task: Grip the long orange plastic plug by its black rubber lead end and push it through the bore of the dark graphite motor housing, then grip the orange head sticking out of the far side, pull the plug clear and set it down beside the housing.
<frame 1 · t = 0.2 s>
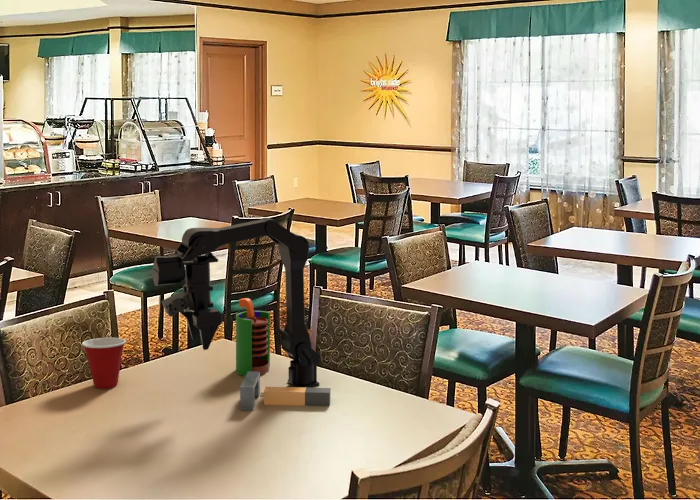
hand: (200, 344, 190), 14 cm above the table, fingers open, 9 cm apart
housing: (250, 401, 192), on the table
plastic cup: (106, 385, 203), on the table
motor: (252, 371, 216), on the table
plug: (297, 402, 192), on the table
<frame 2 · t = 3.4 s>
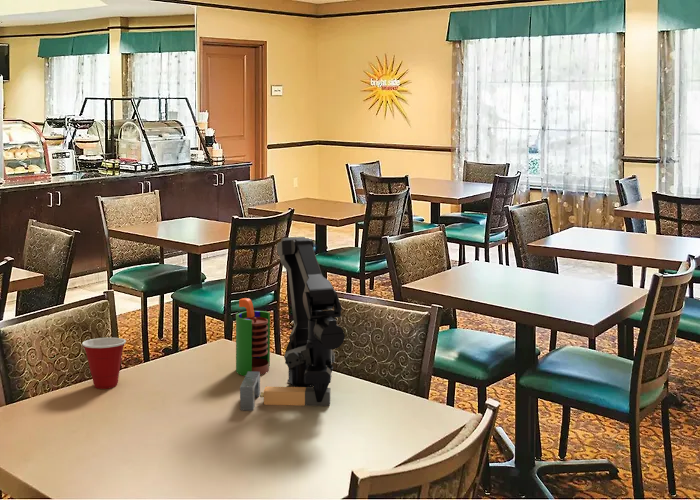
hand: (319, 399, 191), 1 cm above the table, fingers closed on plug, 3 cm apart
plug: (297, 402, 192), on the table, touching gripper
everything else where it was.
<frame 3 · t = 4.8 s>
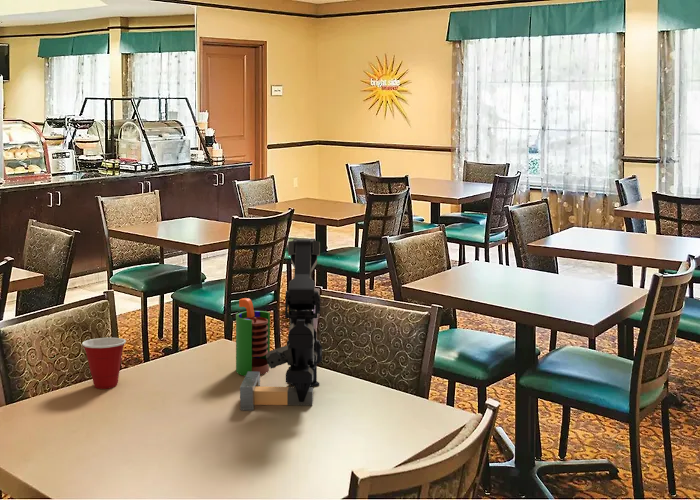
hand: (302, 399, 192), 1 cm above the table, fingers closed on plug, 3 cm apart
plug: (279, 402, 192), on the table, touching gripper
everything else where it was.
when the fingers open (1 cm above the table, at t = 6.5 s): plug stays where it is, on the table.
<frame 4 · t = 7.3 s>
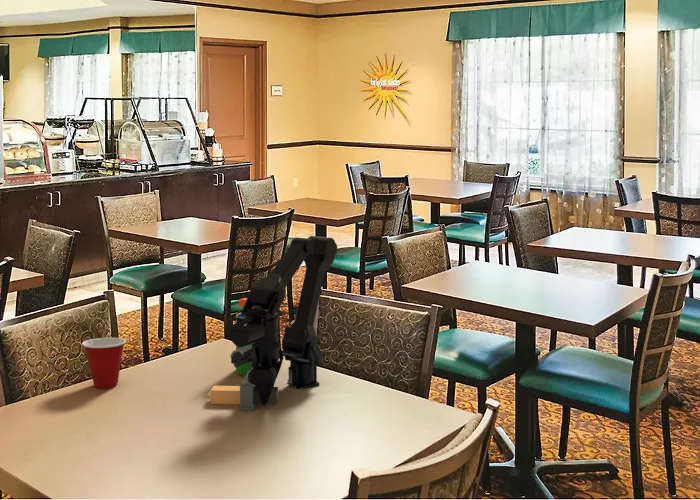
hand: (266, 398, 192), 1 cm above the table, fingers open, 9 cm apart
plug: (245, 401, 192), on the table
everything else where it was.
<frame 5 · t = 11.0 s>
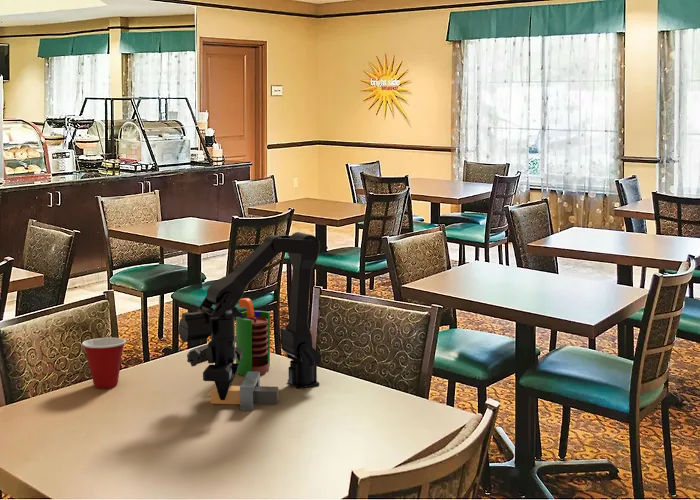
hand: (224, 397, 192), 1 cm above the table, fingers closed on plug, 3 cm apart
plug: (245, 401, 192), on the table, touching gripper
everything else where it was.
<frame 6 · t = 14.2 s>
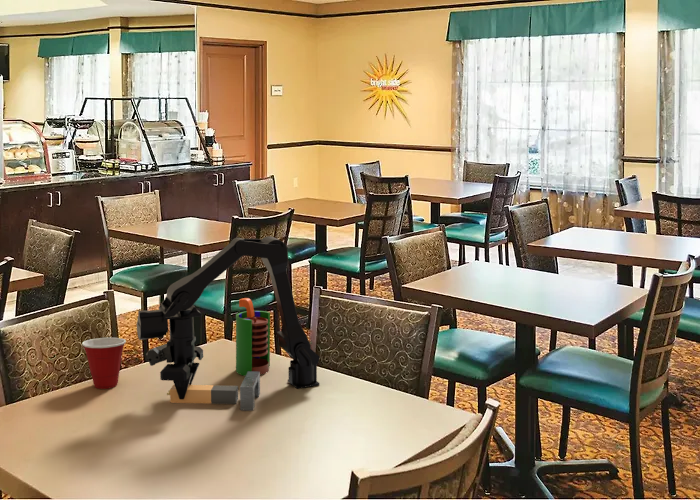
hand: (183, 396, 193), 1 cm above the table, fingers closed on plug, 3 cm apart
plug: (204, 400, 193), on the table, touching gripper
everything else where it was.
when the fingers open (3 cm above the table, at t = 17.8 s): plug drops 2 cm, on the table.
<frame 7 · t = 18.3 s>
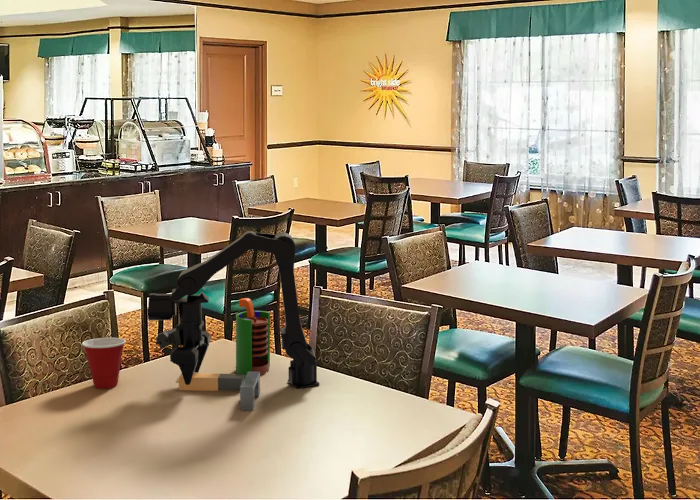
hand: (192, 378, 201), 2 cm above the table, fingers open, 9 cm apart
plug: (211, 388, 201), on the table
everything else where it was.
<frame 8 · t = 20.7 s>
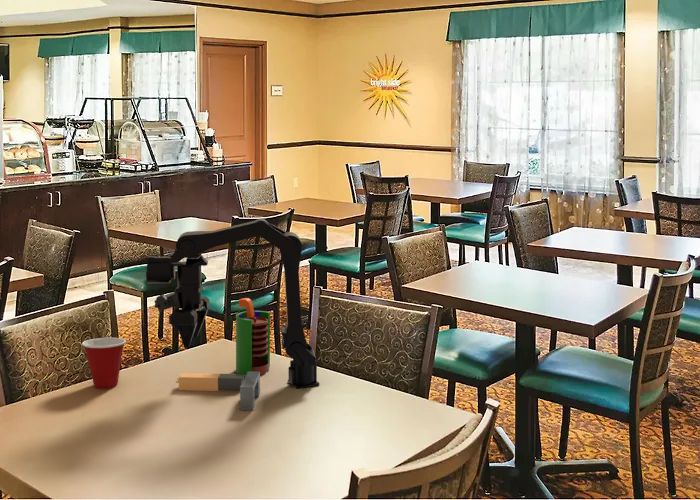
hand: (190, 342, 200), 12 cm above the table, fingers open, 9 cm apart
nothing on the table moved.
at the end: plug inside the target area (0.2 cm from its centre), on the table; plug tilted 0°; the gripper is holding nothing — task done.
